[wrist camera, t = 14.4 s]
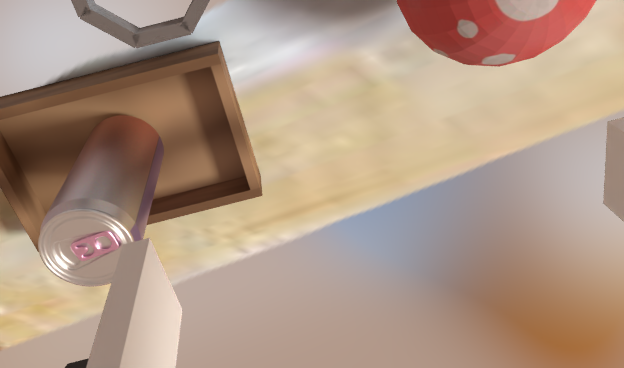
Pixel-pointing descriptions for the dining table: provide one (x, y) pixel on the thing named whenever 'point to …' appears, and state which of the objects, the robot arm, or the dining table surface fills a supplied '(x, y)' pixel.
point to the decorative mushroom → (493, 27)
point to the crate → (148, 107)
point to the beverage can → (102, 201)
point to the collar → (132, 33)
